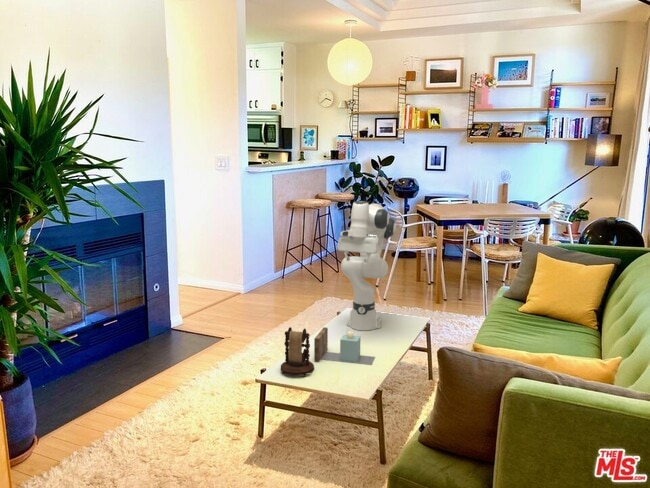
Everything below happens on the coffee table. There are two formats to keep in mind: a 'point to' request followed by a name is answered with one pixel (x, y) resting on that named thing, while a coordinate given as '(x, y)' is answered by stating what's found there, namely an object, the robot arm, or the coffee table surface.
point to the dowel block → (350, 347)
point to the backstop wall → (320, 344)
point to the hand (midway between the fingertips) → (356, 261)
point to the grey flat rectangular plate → (336, 357)
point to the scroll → (297, 354)
